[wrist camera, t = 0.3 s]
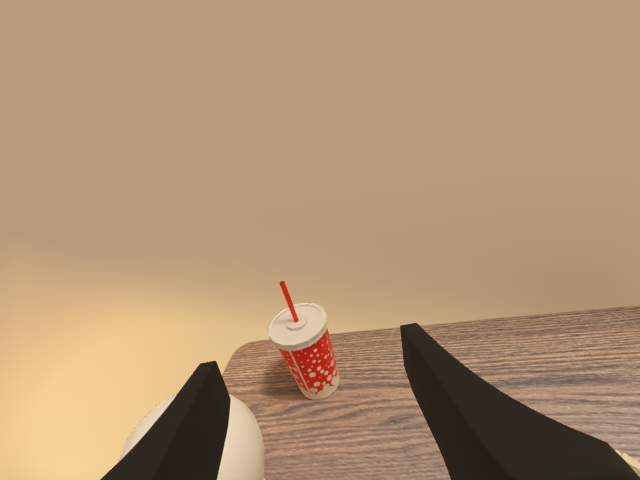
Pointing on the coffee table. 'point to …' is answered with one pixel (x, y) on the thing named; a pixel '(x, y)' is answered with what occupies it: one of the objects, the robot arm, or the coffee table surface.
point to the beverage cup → (306, 347)
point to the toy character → (240, 445)
